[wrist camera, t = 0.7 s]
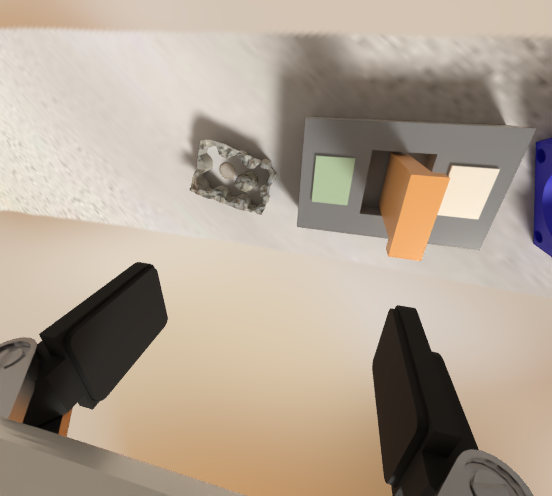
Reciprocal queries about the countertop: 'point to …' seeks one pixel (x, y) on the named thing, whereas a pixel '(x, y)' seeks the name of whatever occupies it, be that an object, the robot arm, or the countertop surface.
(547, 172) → the cable clip
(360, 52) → the countertop surface
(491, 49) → the countertop surface
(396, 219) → the breaker lever
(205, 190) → the egg carton
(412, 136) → the breaker box
